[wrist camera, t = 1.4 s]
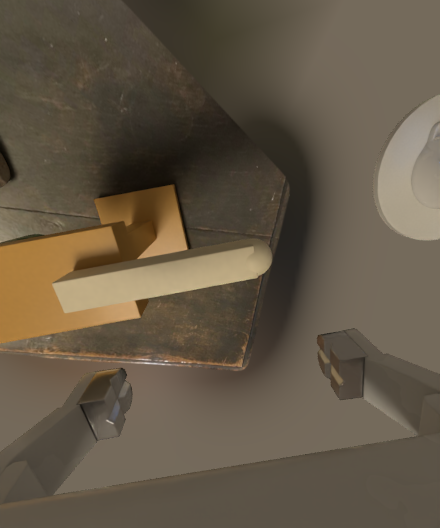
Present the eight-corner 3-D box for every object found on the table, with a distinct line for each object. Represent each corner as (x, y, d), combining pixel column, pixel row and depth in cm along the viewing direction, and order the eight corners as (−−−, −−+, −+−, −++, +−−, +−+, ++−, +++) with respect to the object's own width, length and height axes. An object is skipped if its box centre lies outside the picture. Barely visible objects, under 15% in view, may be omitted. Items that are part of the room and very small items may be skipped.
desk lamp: (174, 184, 42) (125, 179, 17) (190, 257, 47) (172, 342, 21) (76, 202, 42) (-124, 225, 17) (102, 274, 47) (-25, 378, 21)
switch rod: (264, 232, 18) (274, 239, 16) (268, 265, 19) (278, 278, 16) (70, 268, 18) (47, 281, 16) (83, 299, 19) (63, 317, 16)
